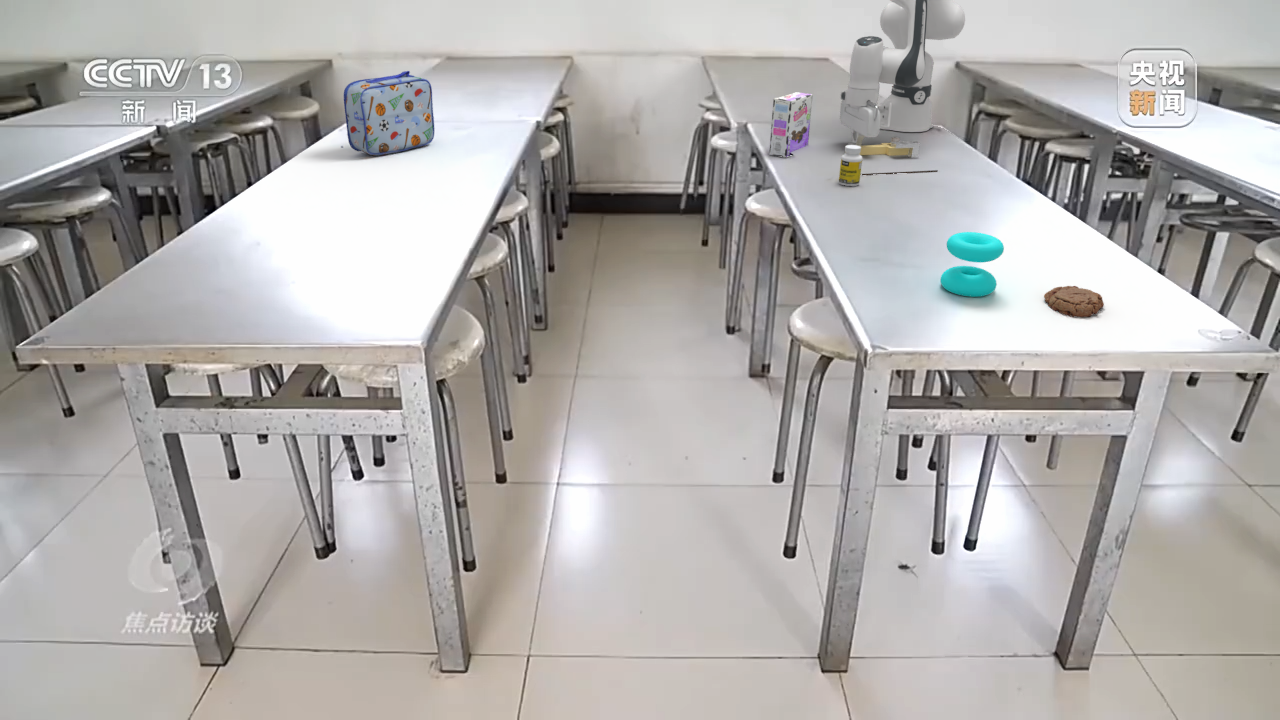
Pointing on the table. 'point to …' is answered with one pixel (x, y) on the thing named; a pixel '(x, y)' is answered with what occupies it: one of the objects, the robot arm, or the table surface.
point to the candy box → (790, 123)
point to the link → (881, 149)
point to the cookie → (1074, 301)
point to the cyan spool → (969, 277)
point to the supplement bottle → (850, 166)
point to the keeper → (911, 145)
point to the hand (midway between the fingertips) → (856, 146)
